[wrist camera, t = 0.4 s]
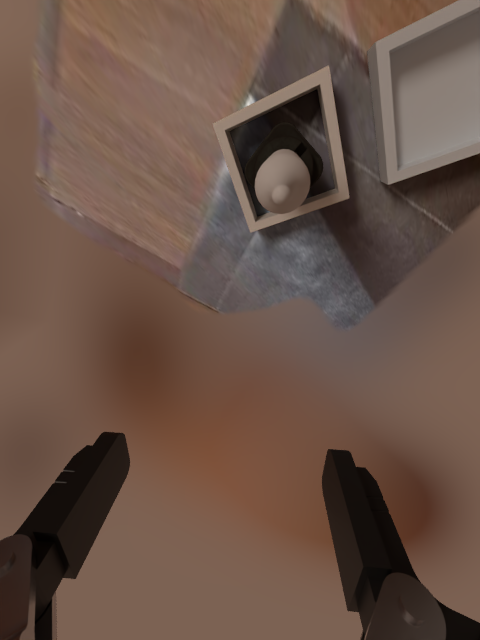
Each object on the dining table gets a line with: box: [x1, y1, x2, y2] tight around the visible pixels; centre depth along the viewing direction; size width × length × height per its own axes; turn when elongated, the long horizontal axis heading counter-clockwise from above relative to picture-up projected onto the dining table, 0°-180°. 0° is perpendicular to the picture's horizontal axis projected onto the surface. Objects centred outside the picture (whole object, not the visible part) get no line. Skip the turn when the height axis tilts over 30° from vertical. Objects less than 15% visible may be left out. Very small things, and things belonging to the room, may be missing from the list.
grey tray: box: [367, 0, 480, 185], centre depth 26 cm, size 12×12×3 cm
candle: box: [245, 122, 323, 214], centre depth 22 cm, size 5×5×25 cm
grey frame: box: [213, 66, 350, 232], centre depth 31 cm, size 12×12×3 cm
